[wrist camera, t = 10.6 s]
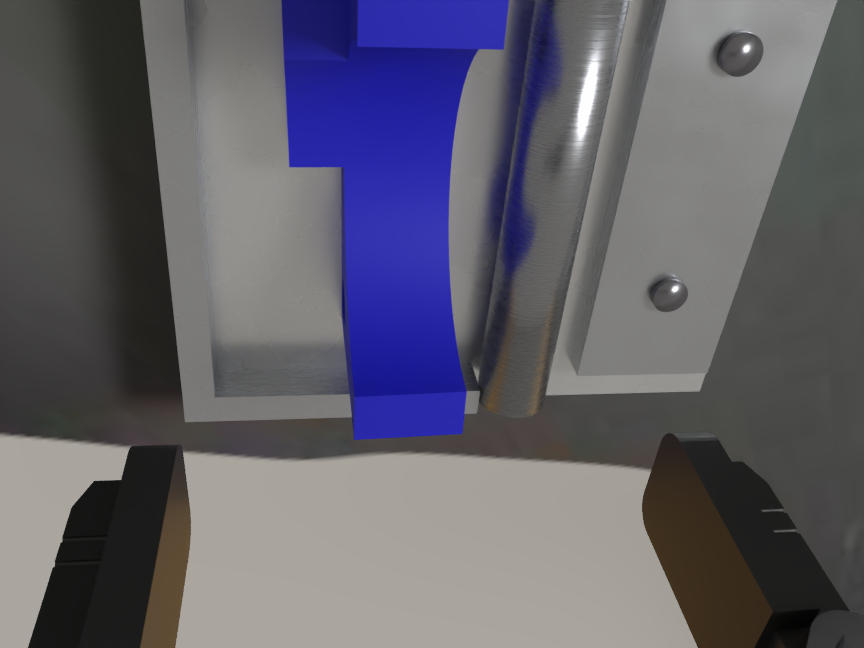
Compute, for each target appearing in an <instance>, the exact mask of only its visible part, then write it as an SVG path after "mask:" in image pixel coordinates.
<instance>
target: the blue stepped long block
mask: <svg viewBox="0 0 864 648" xmlns="http://www.w3.org/2000/svg"><path fill="white" fill-rule="evenodd" d="M281 3H282V27H283V50H284V69H285V87H286V107H287V128H288V150H289V167H341V217H342V325H343V335H344V345H345V354H346V364H347V374H348V384H349V394H350V404H351V413H352V423H353V433H354V440H359V439H377V438H395V437H413V436H431V435H449V434H462V431H463V422H464V413H465V403H466V394H467V391H466V387H465V383H464V379H463V375H462V370H461V366H460V360H459V355H458V349H457V343H456V336H455V328H454V320H453V310H452V299H451V286H450V267H449V192H450V174H451V162H452V151H453V142H454V134H455V127H456V120H457V114H458V109H459V104H460V99H461V95H462V90H463V86H464V83H465V79H466V76H467V73H468V70H469V68H470V65H471V63H472V61H473V59H474V56H475V55H476V53H477V52H478V50H479V49H495V50H504V43H505V33H506V24H507V15H508V6H509V0H281Z"/></svg>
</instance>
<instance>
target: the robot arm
mask: <svg viewBox="0 0 864 648" xmlns="http://www.w3.org/2000/svg"><path fill="white" fill-rule="evenodd" d="M783 509H784V508H783V506H782V505H781V503H780V502H779V500H778V498H777V497H776V495H775V494H774V492H773V491H772V489H771V488H770V486H769V484H768V483H767V482H766V481H765V480H763V479H762V478H761V477H760V476H759V475H758V474H756V473H755V472H754V471H753V470H752V469H751V468H749V467H748V466H747V465H746V464H745V463H744V462H732V461H731V460H730V458H729V457H728V455H727V453H726V452H725V450H724V448H723V447H722V445H721V443H720V442H719V440H718V439H717V437H716V436H715V435H714V434H712V433H710V432H699V433H668V434H666V435H665V436H664V437H663V439H662V441H661V443H660V446H659V449H658V452H657V455H656V458H655V461H654V465H653V468H652V471H651V474H650V477H649V480H648V483H647V486H646V489H645V492H644V495H643V503H642V512H643V520H644V525H645V528H646V531H647V534H648V536H649V538H650V540H651V543H652V545H653V547H654V549H655V552H656V554H657V556H658V558H659V560H660V563H661V565H662V567H663V570H664V572H665V574H666V576H667V579H668V581H669V583H670V586H671V588H672V590H673V592H674V595H675V597H676V599H677V601H678V603H679V606H680V608H681V610H682V613H683V615H684V617H685V619H686V621H687V624H688V626H689V628H690V631H691V633H692V635H693V637H694V639H695V642H696V644H697V646H698V648H864V616H863V615H860V614H858V613H854V612H850V610H849V609H848V608H847V606H846V605H845V603H844V602H843V600H842V598H841V597H840V595H839V594H838V592H837V591H836V589H835V588H834V586H833V584H832V583H831V581H830V580H829V578H828V577H827V575H826V573H825V572H824V570H823V569H822V567H821V566H820V564H819V563H818V561H817V559H816V558H815V556H814V555H813V553H812V552H811V550H810V548H809V547H808V545H807V544H806V542H805V541H804V539H803V538H802V536H801V534H797V532H796V529H797V528H796V527H795V525H794V523H793V522H792V520H791V519H790V517H789V516H788V514H787V513H784V511H783ZM190 518H191V517H190V506H189V498H188V490H187V481H186V474H185V465H184V457H183V451H182V447H181V445H152V446H132V447H131V448H130V450H129V452H128V456H127V460H126V464H125V467H124V471H123V476H122V480H115V481H94V482H93V483H92V484H91V485H90V487H89V488H88V489H87V490H86V491H85V493H84V494H83V495H82V496H81V497H80V499H78V501H77V502H76V503H75V504H74V505H73V507H72V508H71V511H70V515H69V518H68V521H67V524H66V528H65V531H64V534H63V541H62V543H61V544H60V547H59V550H58V553H57V557H56V560H55V567H54V568H53V569H52V573H51V576H50V579H49V582H48V586H47V589H46V592H45V595H44V598H43V601H42V605H41V608H40V611H39V614H38V617H37V621H36V624H35V627H34V630H33V634H32V637H31V640H30V643H29V647H28V648H175V645H176V638H177V631H178V623H179V618H180V610H181V604H182V597H183V589H184V583H185V576H186V569H187V563H188V556H189V548H190V534H191V519H190Z"/></svg>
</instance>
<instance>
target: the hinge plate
mask: <svg viewBox="0 0 864 648" xmlns="http://www.w3.org/2000/svg"><path fill="white" fill-rule="evenodd" d="M836 2H837V0H509V6H508V15H507V24H506V33H505V43H504V50H495V49H479V50H478V52H477V53H476V55H475V56H474V59H473V61H472V63H471V65H470V68H469V70H468V73H467V76H466V79H465V83H464V86H463V90H462V95H461V99H460V104H459V109H458V114H457V120H456V127H455V134H454V142H453V151H452V162H451V174H450V192H449V267H450V286H451V299H452V310H453V320H454V328H455V336H456V343H457V349H458V355H459V360H460V366H461V370H462V375H463V379H464V383H465V387H466V391H467V394H466V403H465V413H464V414H474V413H477V409H478V402H480V403H481V405H482V406H483V407H484V408H486V409H487V410H489V411H490V412H492V413H494V414H497V415H499V416H503V417H507V418H525V417H529V416H532V415H534V414H536V413H538V412H539V411H540V410H541V409H542V407H543V405H544V401H545V396H546V395H573V394H611V393H649V392H687V391H700V388H701V386H702V383H703V380H704V377H705V374H706V373H707V372H708V369H709V367H710V364H711V361H712V358H713V355H714V352H715V349H716V346H717V344H718V341H719V338H720V335H721V332H722V329H723V326H724V324H725V321H726V318H727V315H728V312H729V309H730V306H731V303H732V301H733V298H734V295H735V292H736V289H737V286H738V283H739V281H740V278H741V275H742V272H743V269H744V266H745V263H746V260H747V258H748V255H749V252H750V249H751V246H752V243H753V240H754V238H755V235H756V232H757V229H758V226H759V223H760V220H761V217H762V215H763V212H764V209H765V206H766V203H767V200H768V197H769V195H770V192H771V189H772V186H773V183H774V180H775V177H776V174H777V172H778V169H779V166H780V163H781V160H782V157H783V154H784V152H785V149H786V146H787V143H788V140H789V137H790V134H791V131H792V129H793V126H794V123H795V120H796V117H797V114H798V111H799V109H800V106H801V103H802V100H803V97H804V94H805V91H806V88H807V86H808V83H809V80H810V77H811V74H812V71H813V68H814V66H815V63H816V60H817V57H818V54H819V51H820V48H821V45H822V43H823V40H824V37H825V34H826V31H827V28H828V25H829V23H830V20H831V17H832V14H833V11H834V8H835V5H836ZM140 6H141V15H142V24H143V33H144V43H145V52H146V61H147V71H148V80H149V89H150V99H151V108H152V117H153V126H154V136H155V145H156V154H157V164H158V173H159V182H160V192H161V201H162V210H163V220H164V229H165V238H166V247H167V257H168V266H169V275H170V285H171V294H172V303H173V313H174V322H175V331H176V340H177V350H178V359H179V368H180V378H181V387H182V396H183V406H184V415H185V422H206V421H240V420H273V419H307V418H340V417H352V413H351V404H350V394H349V384H348V374H347V364H346V354H345V345H344V335H343V325H342V217H341V167H289V150H288V128H287V107H286V87H285V69H284V50H283V27H282V3H281V0H140Z"/></svg>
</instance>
